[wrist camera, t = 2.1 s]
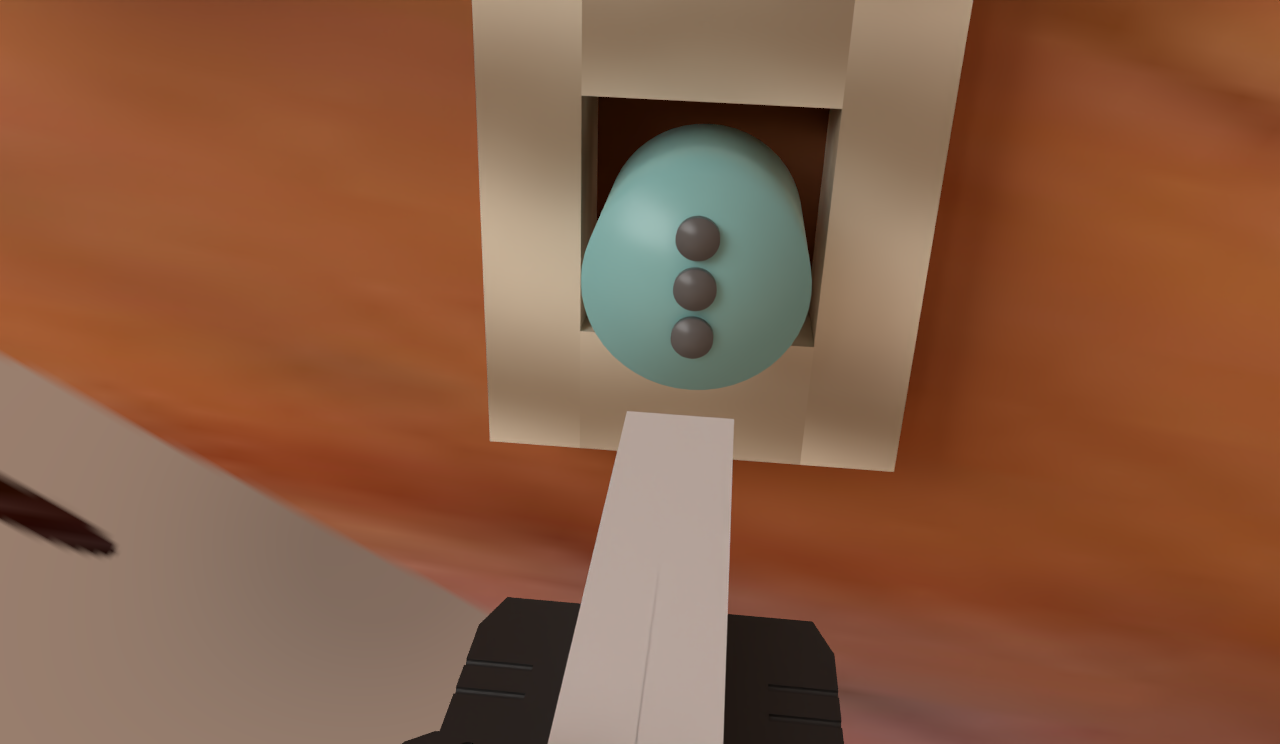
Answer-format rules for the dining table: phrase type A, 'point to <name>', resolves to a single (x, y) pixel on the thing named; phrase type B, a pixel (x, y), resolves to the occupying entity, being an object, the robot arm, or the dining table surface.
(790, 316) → the button
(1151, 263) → the dining table surface
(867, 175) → the wooden compartment tray
